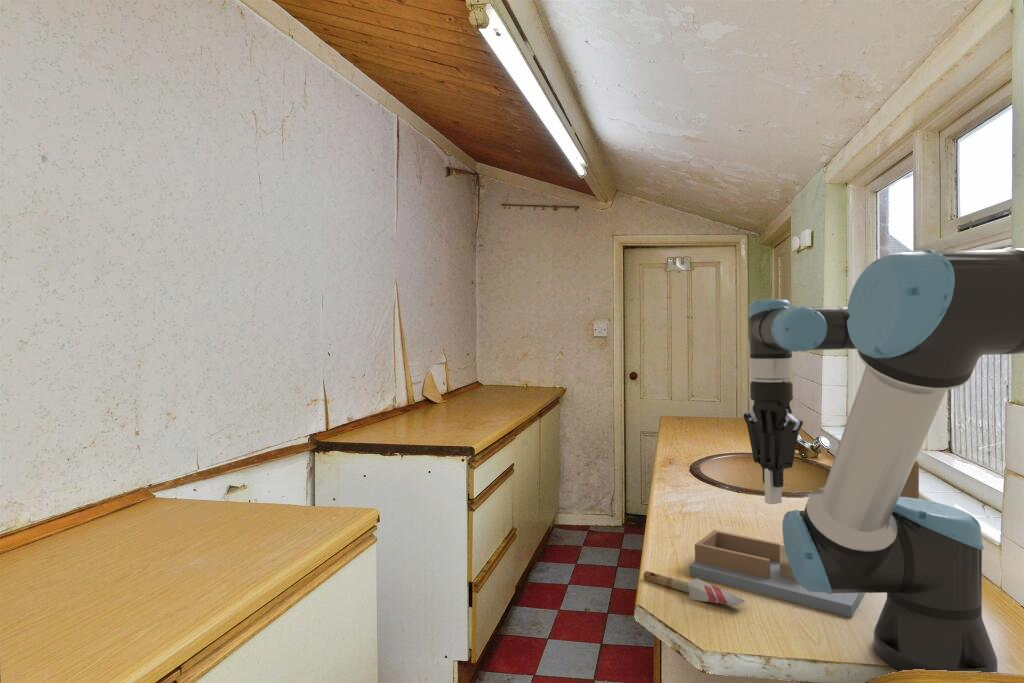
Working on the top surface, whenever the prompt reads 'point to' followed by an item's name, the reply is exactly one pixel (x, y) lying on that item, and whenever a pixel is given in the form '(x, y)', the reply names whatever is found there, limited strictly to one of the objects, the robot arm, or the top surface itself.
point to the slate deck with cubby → (760, 572)
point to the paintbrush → (696, 589)
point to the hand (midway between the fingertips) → (773, 502)
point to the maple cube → (785, 563)
